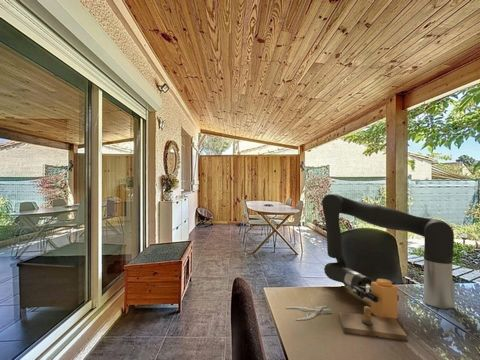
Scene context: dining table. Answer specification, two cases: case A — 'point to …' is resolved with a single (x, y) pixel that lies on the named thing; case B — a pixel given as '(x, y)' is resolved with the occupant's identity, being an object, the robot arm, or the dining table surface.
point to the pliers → (316, 311)
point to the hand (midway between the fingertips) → (387, 298)
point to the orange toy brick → (384, 298)
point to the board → (371, 325)
